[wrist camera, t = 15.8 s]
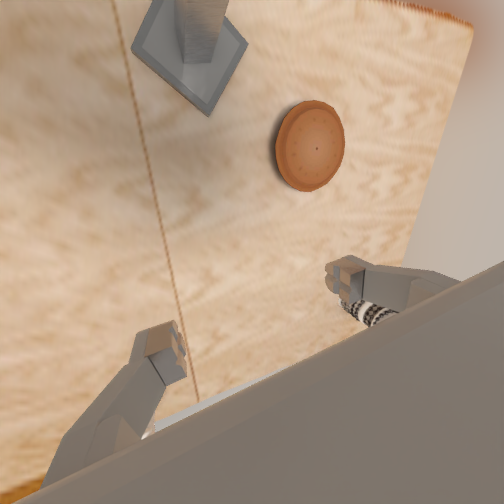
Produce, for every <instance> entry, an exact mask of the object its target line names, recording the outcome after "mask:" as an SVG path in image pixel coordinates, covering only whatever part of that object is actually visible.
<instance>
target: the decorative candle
mask: <svg viewBox="0 0 504 504" xmlns="http://www.w3.org/2000/svg"><path fill="white" fill-rule="evenodd" d="M338 303H339V305H340V306H341V307H342V308H344V310H346V311H347V312H348V313H350V314H351V315H352V316H353V317H355V318H356V319H357V320H358V321H361V322H362V323H363V324H365V325H367V326H368V327H371V326H373V325H375V324H377V323H379V322H381V321H383V320H385V319H387V318H389V317H391V316H393V315H395V314H397V313H399V312H397V311H394V310H391V309H388V308H385V307H382V306H379V305H376V304H373V303H370V302H367V301H364V300H363V299H362V300H359V301H357V302H354V303H352V304H350V305H349V304H347V303H346V302H345V301H343V300H342V299H341V298H339V299H338Z"/></svg>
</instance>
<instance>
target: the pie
mask: <svg viewBox="0 0 504 504" xmlns="http://www.w3.org/2000/svg"><path fill="white" fill-rule="evenodd" d="M344 148H345V138H344V129H343V126H342V123H341V121H340V118H339V116H338V115H337V113H336V111H335V110H334V108H333V107H331V106H329V105H328V104H326V103H325V102H320V101H315V100H313V101H304V102H302V103H300V104H298V105H297V106H295V107H293V108H292V110H291V111H290V112H289V113H288V114H287V115H286V116H285V118H284V120H283V122H282V125H281V127H280V129H279V132H278V136H277V140H276V144H275V151H276V161H277V165H278V168H279V171H280V173H281V175H282V176H283V178H284V180H285V181H286V182H287V183H288V184H289V185H290V186H292V187H293V188H295V189H297V190H299V191H303V192H311V191H314V190H316V189H319V188H320V187H322V186H324V185H325V184H327V183H328V182H329V181H330V179H331V178H332V177H333V176H334V175H335V173H336V172H337V170H338V168H339V167H340V165H341V162H342V159H343V155H344Z"/></svg>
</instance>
